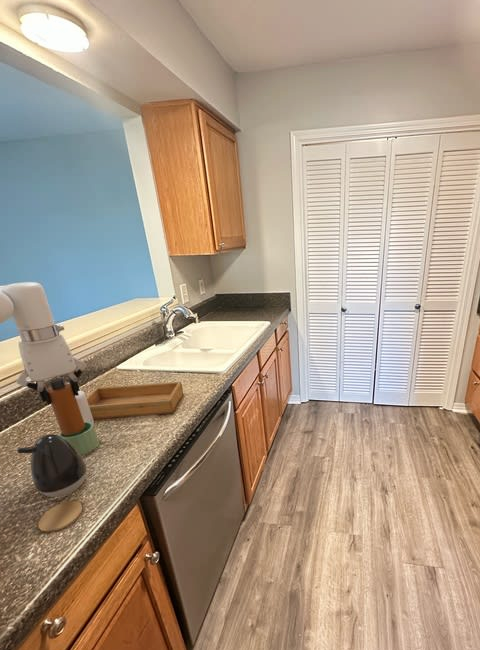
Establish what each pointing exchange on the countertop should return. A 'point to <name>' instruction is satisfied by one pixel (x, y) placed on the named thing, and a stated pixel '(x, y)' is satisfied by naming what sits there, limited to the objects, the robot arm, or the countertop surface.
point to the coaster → (60, 516)
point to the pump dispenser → (55, 466)
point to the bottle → (65, 407)
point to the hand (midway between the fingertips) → (62, 397)
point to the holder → (83, 439)
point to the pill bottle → (84, 407)
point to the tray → (134, 400)
